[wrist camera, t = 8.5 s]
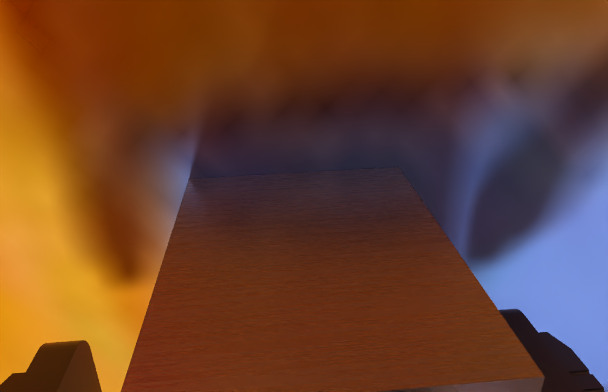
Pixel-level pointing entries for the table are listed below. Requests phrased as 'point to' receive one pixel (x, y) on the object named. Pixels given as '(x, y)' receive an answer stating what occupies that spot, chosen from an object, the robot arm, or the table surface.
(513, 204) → the table surface
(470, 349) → the block
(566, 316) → the table surface
